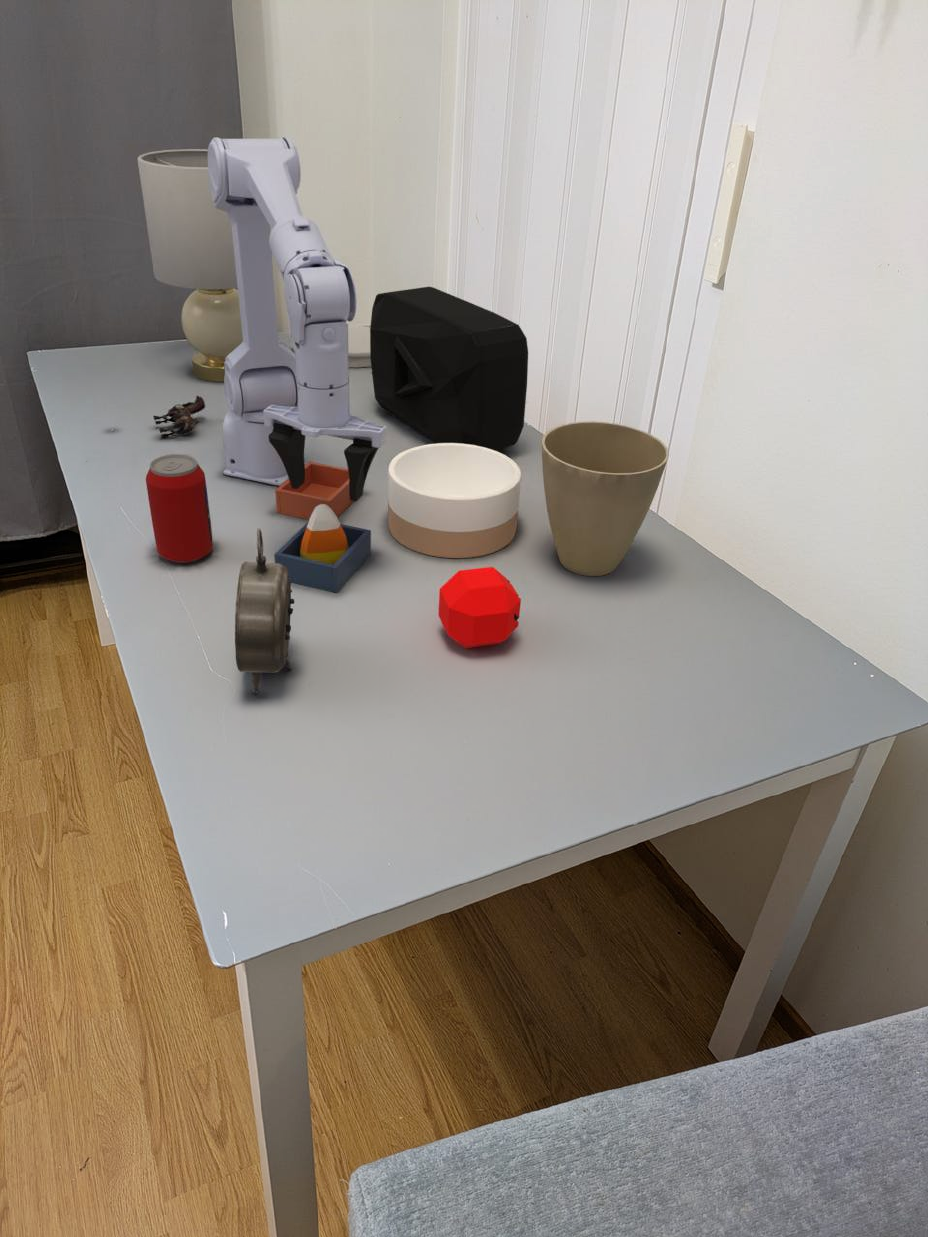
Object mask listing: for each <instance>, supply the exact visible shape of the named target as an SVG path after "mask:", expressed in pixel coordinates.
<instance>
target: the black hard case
mask: <svg viewBox="0 0 928 1237" xmlns="http://www.w3.org/2000/svg"><path fill="white" fill-rule="evenodd" d="M369 327H370V359H371V375H372V376H371V377H372V385H373V392H374V393H373V394H374V399H375V400H376V402H377V403H378V406H379V408H380V409H382V410H383V411H385V412H386V413H388V414H389V415H391V416H392V417H394V418H395V419H397V420H398V421H400V422H402V424H404V425H406V426H407V427H409V428H410V429H412V430H413V431H415V432H416V433H417V434H419V435H421V436H423V437H425V438H426V439H428V440H430V441H431V442H433V443H434V444H437V443H460V444H469V445H476V446H480V447H485V448H488V449H491V450H494V451H497V452H498V451H500V450H504V449H508V448H510V447H512V446H515V445H516V444H518V442H519V439H520V436H521V434H522V431H523V429H524V426H525V417H526V416H525V415H526V414H525V413H526V404H527V402H526V401H527V391H528V374H529V347H528V339H527V337H526V335H525V334H524V331H523V329H522V328H521V326H520V325H519V324H518V323H516V322H514V321H512V320H510V319H508V318H506V317H504V316H502V315H500V314H498V313H496V312H494V311H492V310H490V309H487V308H484V307H481V306H479V305H477V304H474V303H472V302H470V301H468V300H465V299H462V298H460V297H458V296H455V295H453V294H450V293H448V292H445V291H443V290H440V289H438V288H436V287H433V286H424V287H416V288H409V289H402V290H401V289H400V290H393V291H387V292H380V293H378V294H376V295H375V298H374V301H373V304H372V308H371V317H370V326H369Z"/></svg>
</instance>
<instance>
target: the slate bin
mask: <svg viewBox="0 0 928 1237" xmlns="http://www.w3.org/2000/svg"><path fill="white" fill-rule="evenodd" d="M340 524H341V526H342V529H343V531H344V533H345V535H346V538H347V542H348V548H349V549H348V550H347V551H346V552H345V553H344V554H343V556H342V557H341V558H340V559H339V560H338V561H337V562H336V563H335V564H334V565H332V564H328V563H323V562H319V561H314V560H310V559H305V558H301V557H300V551H301V543H302V539H303V536H304V533H305V530H306V528H307V525H308V522H306V523H305V525H303V526H302V528H300V529H299V530H298V531H297V532H296V533H294V535H293V536H292V537H291V538H290V539H288V540H287V541H286V542H285V543H284V544H283V545H282V546H281V547H280V548H279V549H278V550H277V551H276V552H275V553H274V563H279V564H282V565H283V566H285V567H286V568H287V570H288V572H289V575H290V582H291V583H294V584H297V585H302V586H306V587H311V588H314V589H319V590H323V591H328V592H330V593H331V592H332V593H338V592H339V591H340V590H341V589H342V588H343V587H344V585H346V583H347V582H348V581H349V580H350V579H351V577H352V576H353V575H354V574H355V573H356V572H357V570H358V569H359V568H360V567H361V566H362V565H363V564H364V563H365V562H366V560H367V559H368V558H369V557H370V556H371V554H372V530H371V529H366V528H362V527H358V526H353V525H348V524H343V523H340Z"/></svg>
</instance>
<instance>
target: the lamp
mask: <svg viewBox="0 0 928 1237" xmlns="http://www.w3.org/2000/svg"><path fill="white" fill-rule="evenodd" d="M137 165H138V166H137V167H138V172H139V178H140V186H141V193H142V200H143V208H144V213H145V220H146V221H145V223H146V229H147V235H148V242H149V249H150V255H151V262H152V269H153V270H152V271H153V276H154V278H155V279H156V280H157V281H158V282H161V283H163V284H165V285H168V286H172V287H176V288H177V287H178V288H184V289H192V290H194V289H195V290H194V291H192V292H191V293H190V294H189V295H188V296H187V297H186V299H185V301H184V304H183V306H182V309H181V315H180V321H181V323H180V324H181V328H182V332H183V334H184V336H185V338H186V340H187V342H188V343H189V344H190V346H191V347H192V348H193V349H194V350H195V351H196V352H197V353H195V354H194V355H193V356H192V357H191V363H192V372H193V375H194V376H195V377H196V378H197V379H200V380H203V381H206V382H214V383H224V377H225V365H224V362H225V358H226V357H227V356H228V355H229V354H230V353H231V352H232V351H233V350H235V349H236V348H237V347H238V346H239V345H240V344H241V343H242V342H243V335H242V325H241V315H240V305H239V296H238V286H237V276H236V266H235V256H234V246H233V236H232V227H231V223H230V220H229V217H228V213H227V212H225V211H222V210H219V209H217V208H215V207H214V201H213V200H212V195H211V186H210V177H209V168H208V148H205V149H204V148H203V149H202V148H201V149H200V148H187V149H184V148H183V149H181V148H180V149H166V150H165V149H164V150H155V151H150V152H145V153H143V154H140V155H139V156H138V157H137ZM271 231H272V230H271V227H270V225H269V232H270V233H271ZM271 256H272V257H273V253H272V251H271ZM272 269H273V270H274V267H273V264H272Z"/></svg>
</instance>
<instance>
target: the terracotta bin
mask: <svg viewBox="0 0 928 1237" xmlns="http://www.w3.org/2000/svg"><path fill="white" fill-rule="evenodd" d="M274 493H275V506H276V513H277V514H280V515H285V516H289V517H290V516H291V517H294V518H300V519H305V520H308V521H309V520H310V517H311V515H312V513H313V511H314V509H315V507H317V506H318V505H321V504H326V505H327V506H329V507H330V508H331V509H332V511H333V512H334V514H335V515H336V517H337V518H339V516H341V514H343V512H345V510H347V509H348V508H349V507H350V505H352V504H353V503H354V501H350V495H349V472H348V468H344V467H339V466H335V465H329V464H325V463H319V462H314V461H308V462H306V465H305V482H304V483H303V484H302V485H301V486H300V487H299V488H298V489H293V488H292V487H291V483H290V480H289V479H288V480H287V481H285V482H284V483H283V484H282V485H281V486H278V487H277V488H276V489H275V491H274Z"/></svg>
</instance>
